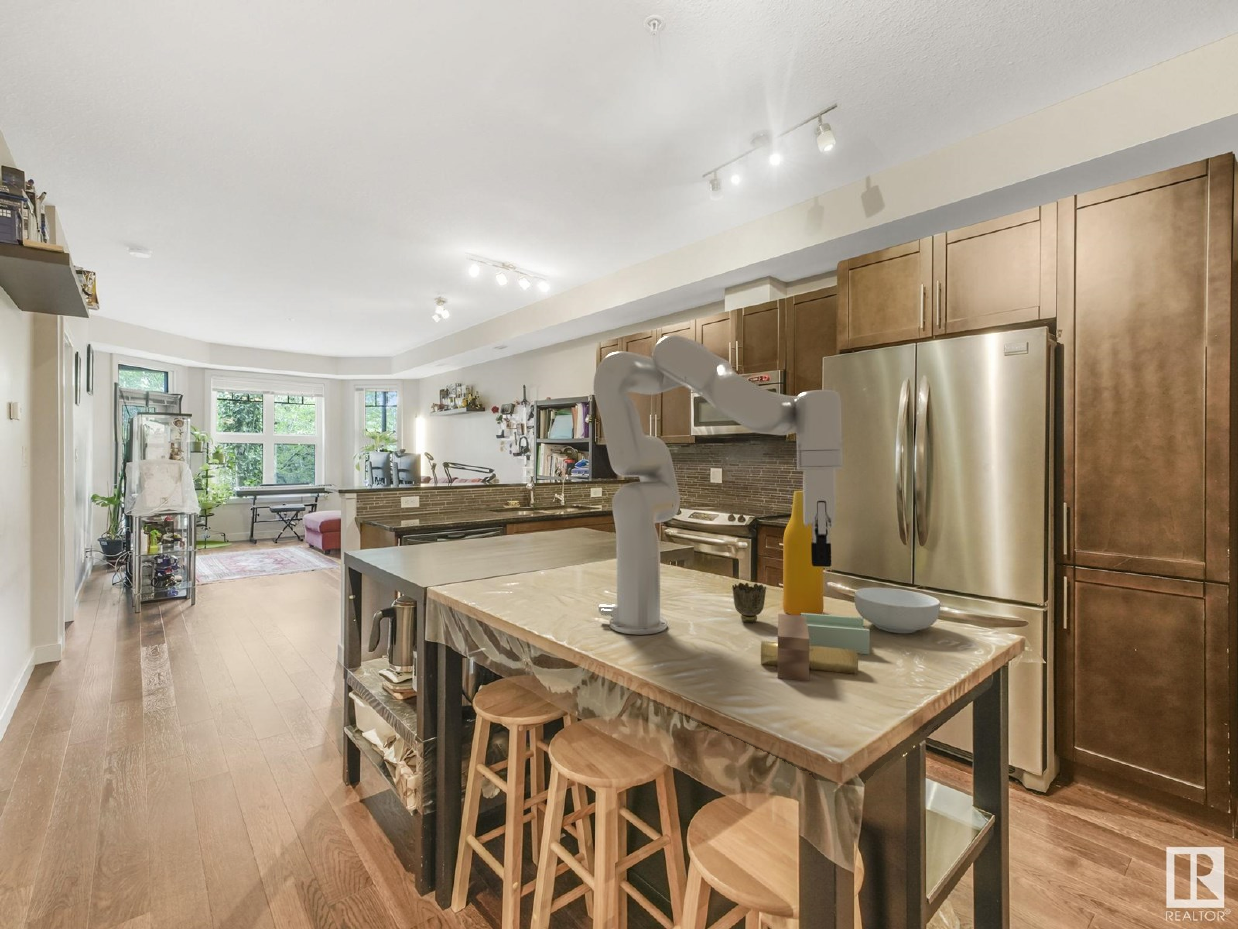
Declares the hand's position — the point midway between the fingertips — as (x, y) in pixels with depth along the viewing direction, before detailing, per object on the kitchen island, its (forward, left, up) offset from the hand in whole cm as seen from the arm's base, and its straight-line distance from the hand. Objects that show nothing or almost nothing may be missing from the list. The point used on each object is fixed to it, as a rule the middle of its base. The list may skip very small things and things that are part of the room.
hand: (821, 565), depth 98 cm
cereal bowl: (+17, +29, -18) cm, 39 cm away
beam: (-5, 0, -18) cm, 19 cm away
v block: (+3, +14, -18) cm, 23 cm away
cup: (-14, +25, -18) cm, 34 cm away
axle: (-2, 0, -16) cm, 17 cm away
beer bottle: (-2, +36, -18) cm, 41 cm away
